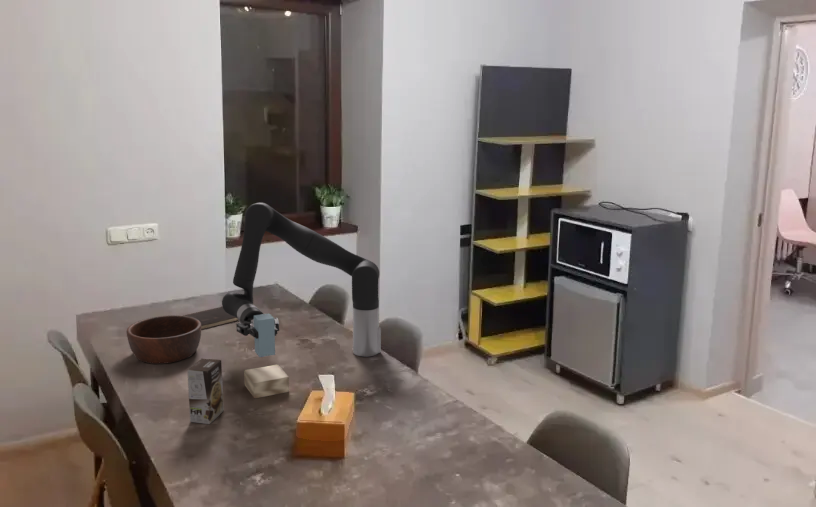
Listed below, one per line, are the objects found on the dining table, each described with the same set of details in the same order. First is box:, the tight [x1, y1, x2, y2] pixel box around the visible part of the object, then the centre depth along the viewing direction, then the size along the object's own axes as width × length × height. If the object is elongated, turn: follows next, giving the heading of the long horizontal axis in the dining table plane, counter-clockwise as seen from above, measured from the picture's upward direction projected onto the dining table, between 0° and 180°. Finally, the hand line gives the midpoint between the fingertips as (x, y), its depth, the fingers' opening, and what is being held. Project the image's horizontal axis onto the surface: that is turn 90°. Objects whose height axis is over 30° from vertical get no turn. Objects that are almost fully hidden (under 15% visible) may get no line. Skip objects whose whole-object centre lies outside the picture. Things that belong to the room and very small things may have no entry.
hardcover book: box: [182, 306, 239, 330], centre depth 286 cm, size 16×23×2 cm
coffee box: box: [187, 358, 225, 425], centre depth 203 cm, size 9×6×16 cm
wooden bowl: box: [126, 314, 202, 365], centre depth 249 cm, size 25×25×10 cm
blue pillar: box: [253, 313, 276, 358], centre depth 219 cm, size 5×5×12 cm
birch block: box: [243, 363, 290, 399], centre depth 223 cm, size 11×11×5 cm
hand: (266, 334), depth 217 cm, fingers closed on blue pillar, 5 cm apart
